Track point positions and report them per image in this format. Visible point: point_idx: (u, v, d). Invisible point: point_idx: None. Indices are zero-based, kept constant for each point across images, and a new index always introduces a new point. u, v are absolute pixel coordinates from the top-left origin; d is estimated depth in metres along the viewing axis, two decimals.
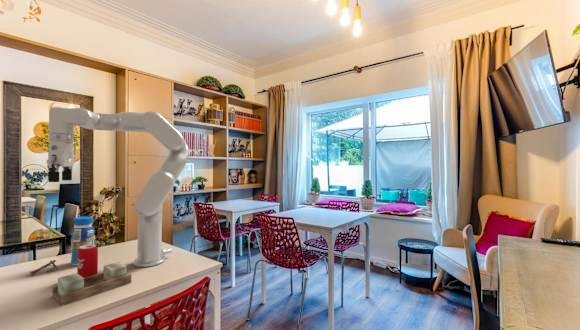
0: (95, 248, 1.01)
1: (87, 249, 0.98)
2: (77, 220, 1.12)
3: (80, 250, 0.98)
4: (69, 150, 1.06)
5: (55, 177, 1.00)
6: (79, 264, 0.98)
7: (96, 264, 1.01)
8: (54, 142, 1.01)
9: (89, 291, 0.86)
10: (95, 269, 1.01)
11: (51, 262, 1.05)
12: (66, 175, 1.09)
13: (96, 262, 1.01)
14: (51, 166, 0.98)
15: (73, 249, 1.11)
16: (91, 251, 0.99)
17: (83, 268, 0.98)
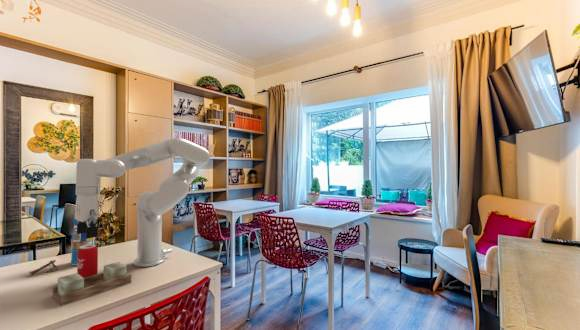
0: (95, 248, 1.01)
1: (87, 249, 0.98)
2: None
3: (80, 250, 0.98)
4: (78, 203, 0.98)
5: None
6: (79, 264, 0.98)
7: (96, 264, 1.01)
8: None
9: (89, 291, 0.86)
10: (95, 269, 1.01)
11: (51, 262, 1.05)
12: None
13: (96, 262, 1.01)
14: None
15: (73, 249, 1.11)
16: (91, 251, 0.99)
17: (83, 268, 0.98)
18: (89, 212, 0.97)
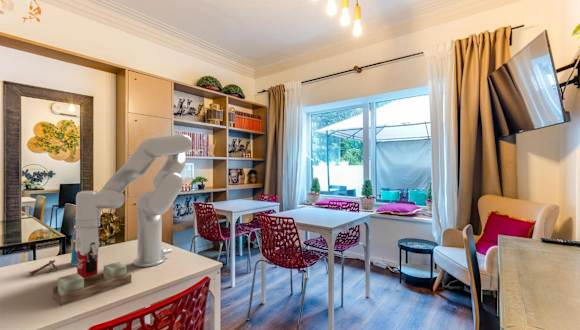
0: None
1: None
2: None
3: None
4: (78, 236, 0.98)
5: None
6: (79, 264, 0.98)
7: (96, 264, 1.01)
8: None
9: (89, 291, 0.86)
10: None
11: (50, 262, 1.05)
12: None
13: (96, 262, 1.01)
14: None
15: (73, 249, 1.11)
16: None
17: (83, 268, 0.98)
18: (89, 245, 0.97)
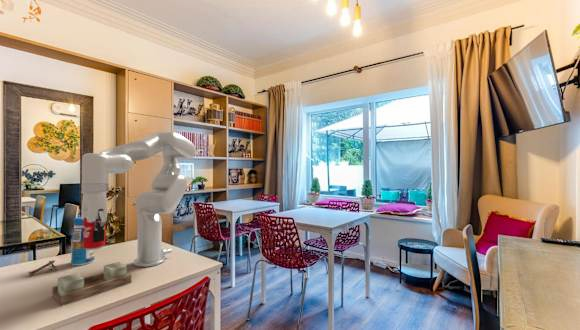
0: None
1: None
2: (77, 220, 1.12)
3: None
4: (85, 202, 0.89)
5: None
6: (85, 233, 0.89)
7: (104, 234, 0.92)
8: None
9: (89, 291, 0.86)
10: None
11: (50, 262, 1.05)
12: None
13: (104, 231, 0.92)
14: None
15: (73, 249, 1.11)
16: (98, 219, 0.90)
17: (90, 237, 0.89)
18: (97, 212, 0.88)
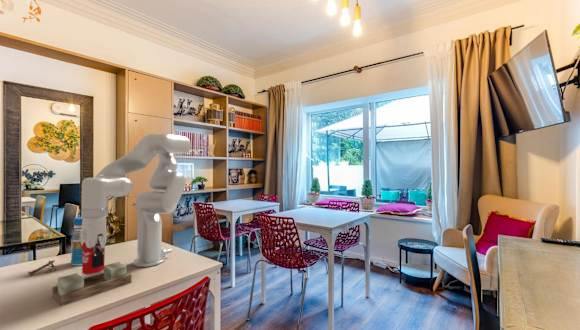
0: None
1: None
2: (77, 220, 1.12)
3: None
4: (84, 227, 0.89)
5: None
6: (84, 258, 0.88)
7: None
8: None
9: (89, 291, 0.86)
10: None
11: (50, 262, 1.05)
12: None
13: None
14: None
15: (73, 249, 1.11)
16: (97, 244, 0.90)
17: (89, 263, 0.88)
18: (97, 237, 0.88)
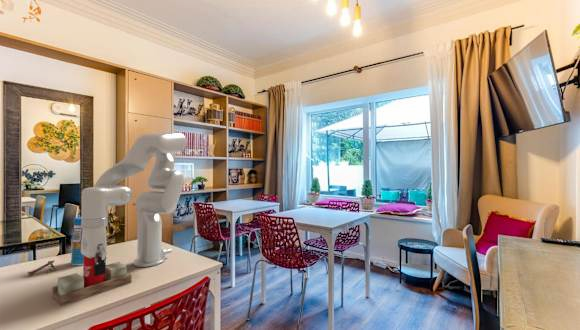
0: None
1: None
2: (77, 220, 1.12)
3: None
4: (84, 237, 0.89)
5: None
6: (85, 272, 0.89)
7: None
8: None
9: (89, 291, 0.86)
10: (103, 277, 0.92)
11: (49, 262, 1.04)
12: None
13: None
14: None
15: (73, 249, 1.11)
16: (98, 258, 0.90)
17: (90, 276, 0.89)
18: (97, 247, 0.88)
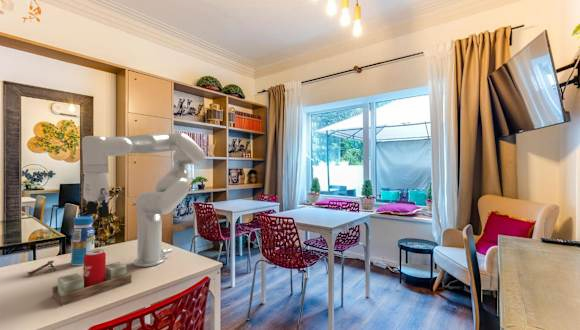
0: (103, 254, 0.92)
1: (94, 255, 0.89)
2: (77, 220, 1.12)
3: (86, 256, 0.89)
4: (87, 182, 0.94)
5: None
6: (85, 272, 0.89)
7: (104, 271, 0.92)
8: None
9: (89, 291, 0.86)
10: (103, 277, 0.92)
11: (49, 263, 1.04)
12: None
13: (104, 269, 0.92)
14: None
15: (73, 249, 1.11)
16: (98, 258, 0.90)
17: (90, 276, 0.89)
18: (100, 191, 0.93)
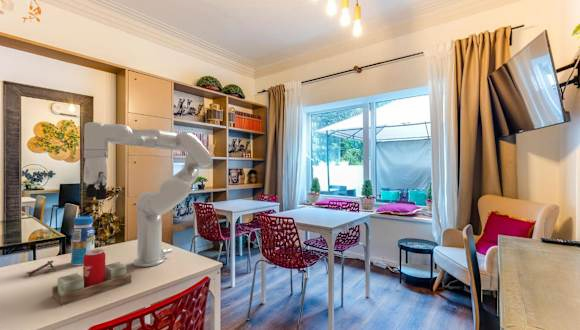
0: (102, 254, 0.92)
1: (94, 255, 0.89)
2: (77, 220, 1.12)
3: (86, 256, 0.89)
4: (87, 166, 0.99)
5: None
6: (85, 272, 0.89)
7: (104, 271, 0.92)
8: None
9: (89, 291, 0.86)
10: (103, 277, 0.92)
11: (48, 263, 1.04)
12: None
13: (104, 269, 0.92)
14: None
15: (73, 249, 1.11)
16: (98, 258, 0.90)
17: (90, 276, 0.89)
18: (98, 174, 0.98)
